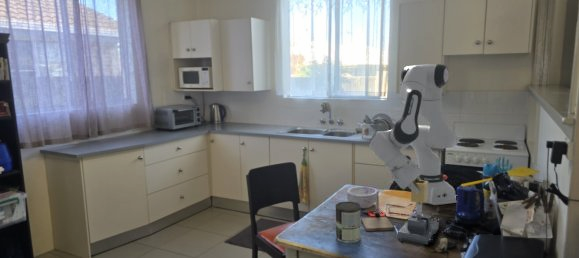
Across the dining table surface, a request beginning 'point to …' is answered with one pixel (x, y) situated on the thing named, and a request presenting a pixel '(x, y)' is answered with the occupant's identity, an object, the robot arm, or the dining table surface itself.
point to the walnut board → (377, 224)
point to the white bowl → (362, 196)
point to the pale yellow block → (423, 193)
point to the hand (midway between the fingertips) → (421, 189)
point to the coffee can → (348, 222)
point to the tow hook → (377, 212)
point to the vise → (418, 227)
